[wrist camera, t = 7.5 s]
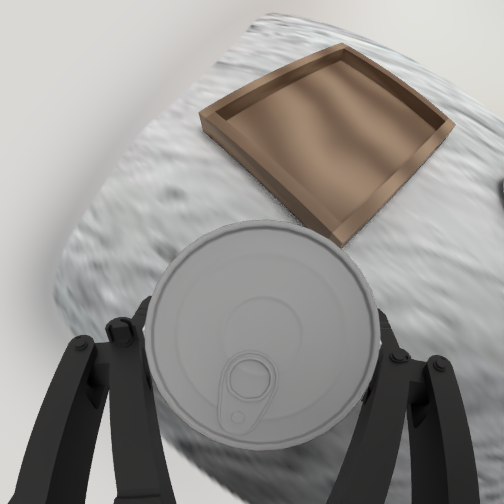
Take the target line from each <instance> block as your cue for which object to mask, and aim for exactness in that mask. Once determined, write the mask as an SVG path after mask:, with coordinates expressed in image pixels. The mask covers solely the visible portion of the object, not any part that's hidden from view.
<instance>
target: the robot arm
mask: <svg viewBox="0 0 504 504" xmlns="http://www.w3.org/2000/svg"><path fill="white" fill-rule="evenodd" d="M151 297H152V296H149V297H147V298H146V299H145V300H143V301H142V303H141V304H140V306H139V308H138V309H137V311H136V313H135V315H134V316H133V318H132V319H130V318H127V317H119V318H115V319H113V320H111V321H110V322H109V323H108V324H107V325H106V328H105V330H106V333H107V336H108V339H109V341H110V342H105V343H94V340H93V338H92V337H90V336H88V335H80V336H77V337H75V338H73V339H72V340H71V341H70V343H69V344H68V346H67V348H66V350H65V352H64V354H63V356H62V359H61V361H60V363H59V365H58V368H57V370H56V372H55V374H54V377H53V379H52V381H51V383H50V386H49V388H48V391H47V393H46V396H45V398H44V400H43V403H42V406H41V408H40V411H39V414H38V416H37V419H36V422H35V424H34V427H33V430H32V433H31V436H30V439H29V442H28V445H27V448H26V452H25V455H24V458H23V462H22V465H21V469H20V473H19V476H18V481H17V484H16V489H15V493H14V495H13V497H12V498H11V500H10V501H9V503H8V504H85V499H86V492H87V486H88V480H89V474H90V469H91V463H92V458H93V454H94V449H95V444H96V440H97V435H98V431H99V427H100V423H101V418H102V414H103V410H104V406H105V403H106V399H107V395H108V392H109V400H110V426H111V440H112V453H113V462H114V471H115V479H116V486H117V497H116V498H115V499H114V504H176V500H175V497H174V493H173V489H172V485H171V481H170V478H169V473H168V469H167V465H166V460H165V456H164V451H163V446H162V441H161V436H160V430H159V425H158V419H157V413H156V407H155V401H154V394H153V387H152V380H151V376H150V369H149V365H148V360H147V356H146V351H145V322H146V317H147V311H148V306H149V302H150V300H151ZM377 309H378V314H379V323H380V333H381V336H380V347H379V356H378V360H377V363H376V367H375V370H374V373H373V376H372V379H371V381H370V383H369V386H368V388H367V390H366V392H365V394H364V396H363V398H362V400H361V401H363V404H362V408H361V411H360V414H359V418H358V421H357V424H356V427H355V430H354V433H353V436H352V439H351V442H350V445H349V448H348V451H347V454H346V456H345V459H344V462H343V464H342V467H341V470H340V472H339V475H338V477H337V480H336V482H335V484H334V487H333V489H332V492H331V494H330V496H329V498H328V501H327V503H326V504H384V502H385V499H386V496H387V492H388V489H389V485H390V482H391V478H392V474H393V470H394V467H395V462H396V458H397V454H398V449H399V445H400V440H401V435H402V429H403V424H404V418H405V412H406V411H407V420H408V430H409V442H410V456H411V481H412V504H480V498H479V487H478V478H477V471H476V464H475V457H474V451H473V446H472V441H471V436H470V431H469V426H468V422H467V417H466V413H465V409H464V405H463V401H462V398H461V394H460V390H459V387H458V384H457V380H456V377H455V374H454V370H453V367H452V365H451V363H450V361H449V360H448V359H446V358H445V357H443V356H439V355H434V356H431V357H430V358H429V359H428V361H427V362H423V361H418V360H413V359H411V356H410V355H409V353H408V352H406V351H405V350H404V349H401V348H399V345H398V343H397V340H396V338H395V336H394V333H393V331H392V329H391V326H390V324H389V323H388V320H387V317H386V315H385V314H384V313H383V312H382V311H381V310H380V309H379V308H377Z"/></svg>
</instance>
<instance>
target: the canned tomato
mask: <svg viewBox="0 0 504 504" xmlns="http://www.w3.org/2000/svg"><path fill="white" fill-rule="evenodd" d="M380 336H381V333H380V323H379V314H378V309H377V306H376V303H375V299H374V296H373V293H372V290H371V288H370V286H369V285H368V283H367V281H366V279H365V277H364V275H363V274H362V272H361V270H360V269H359V268H358V267H357V265H356V264H355V263H354V262H353V261H352V259H351V258H350V257H349V256H348V255H347V254H346V253H345V252H344V251H343V250H342V249H340V248H339V247H338V246H337V245H336V244H334V243H333V242H332V241H331V240H329V239H327V238H326V237H324V236H322V235H320V234H318V233H316V232H315V231H313V230H311V229H308V228H305V227H302V226H299V225H296V224H293V223H289V222H282V221H274V220H252V221H243V222H239V223H235V224H231V225H226V226H223V227H221V228H218V229H216V230H214V231H212V232H210V233H208V234H205V235H203V236H202V237H200V238H199V239H197V240H196V241H195V242H193V243H192V244H190V245H189V246H188V247H186V248H185V249H184V250H183V251H182V252H181V253H180V254H179V255H178V256H177V257H176V258H175V259H174V260H173V261H172V262H171V263H170V264H169V266H168V267H167V269H166V270H165V272H164V274H163V275H162V277H161V278H160V280H159V281H158V283H157V285H156V287H155V290H154V292H153V295H152V297H151V300H150V302H149V306H148V311H147V317H146V322H145V351H146V356H147V360H148V365H149V369H150V372H151V375H152V377H153V379H154V382H155V384H156V386H157V388H158V390H159V392H160V394H161V395H162V397H163V398H164V400H165V401H166V402H167V404H168V405H169V407H170V408H171V409H172V411H173V412H174V413H175V414H176V415H177V416H178V417H180V418H181V419H182V420H183V421H184V422H185V423H186V424H187V425H188V426H189V427H191V428H192V429H194V430H195V431H197V432H199V433H200V434H202V435H204V436H205V437H207V438H209V439H211V440H213V441H216V442H219V443H221V444H224V445H227V446H230V447H233V448H239V449H246V450H254V451H266V450H280V449H285V448H289V447H293V446H296V445H300V444H303V443H306V442H308V441H310V440H312V439H314V438H316V437H318V436H320V435H322V434H324V433H326V432H328V431H329V430H330V429H331V428H333V427H334V426H335V425H337V424H338V423H339V422H340V421H342V420H343V419H344V418H345V417H346V416H347V415H348V414H349V413H350V411H351V410H352V409H353V408H354V407H355V405H356V404H357V403H358V402H359V401H360V399H361V398H362V396H363V394H364V392H365V390H366V389H367V387H368V385H369V383H370V381H371V379H372V376H373V373H374V370H375V367H376V363H377V360H378V356H379V347H380Z"/></svg>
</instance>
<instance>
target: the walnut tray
mask: <svg viewBox="0 0 504 504" xmlns="http://www.w3.org/2000/svg"><path fill="white" fill-rule="evenodd" d="M199 116H200V120H201V124H202V128H203V131H204V132H205V133H206V134H208V135H209V136H210V137H211V138H212V139H213V140H214V141H215V142H217V143H218V144H219V145H220V146H221V147H222V148H223V149H224V150H226V151H227V152H228V153H229V154H230V155H231V156H232V157H233V158H234V159H236V160H237V161H238V162H239V163H240V164H241V165H242V166H243V167H244V168H245V169H246V170H248V171H249V172H250V173H251V174H252V175H253V176H254V177H255V178H256V179H257V180H258V181H259V182H260V183H261V184H263V185H264V186H265V187H266V188H267V189H268V190H269V191H270V192H271V193H272V194H273V195H274V196H275V197H276V198H277V199H278V200H279V201H280V202H281V203H282V204H283V205H284V206H286V207H287V208H288V209H289V210H290V211H291V212H292V213H293V214H294V215H295V216H296V217H297V218H298V219H299V220H300V221H301V222H302V223H303V224H304V225H305V226H306V227H307V228H308V229H311V230H313V231H315V232H316V233H318V234H320V235H322V236H324V237H326V238H327V239H329V240H331V241H332V242H333V243H334V244H336V245H337V246H338V247H339V248H340V249H341V248H342V247H343V246H344V245H345V244H346V243H347V242H348V241H349V240H350V239H351V238H352V237H353V236H354V235H355V234H356V233H357V232H359V231H360V230H361V229H362V228H363V227H364V226H365V225H366V224H367V223H368V222H369V221H370V220H371V218H372V217H373V216H374V215H375V214H376V213H377V212H378V211H379V210H380V209H381V208H382V207H383V206H384V205H385V204H386V203H387V202H388V201H389V200H390V199H391V198H392V197H393V196H394V195H395V194H396V193H397V192H398V191H399V190H400V188H401V187H402V186H403V185H404V184H405V183H406V182H407V181H408V180H409V179H410V178H411V177H412V176H413V175H414V173H415V172H416V171H417V170H418V169H419V168H420V167H421V166H422V165H423V164H424V163H425V161H426V160H427V159H428V158H429V157H430V156H431V155H432V154H433V152H434V151H435V150H436V149H437V148H438V147H439V146H440V145H441V143H442V142H443V141H444V140H445V139H446V138H447V136H448V135H449V133H450V132H451V131H452V129H453V128H454V126H455V125H456V124H455V123H454V122H453V121H451V120H450V119H449V118H448V117H447V116H446V115H445V114H444V113H442V112H441V111H440V110H439V109H438V108H437V107H435V106H434V105H433V104H432V103H431V102H429V101H428V100H427V99H426V98H424V97H423V96H422V95H421V94H419V93H418V92H417V91H415V90H414V89H413V88H411V87H410V86H409V85H407V84H406V83H405V82H403V81H402V80H401V79H399V78H398V77H396V76H395V75H393V74H392V73H391V72H389V71H388V70H386V69H385V68H383V67H382V66H380V65H379V64H377V63H375V62H374V61H372V60H371V59H369V58H367V57H366V56H364V55H363V54H361V53H359V52H357V51H356V50H354V49H352V48H351V47H349V46H347V45H345V44H343V43H340V44H337V45H334V46H331V47H329V48H326V49H324V50H321V51H319V52H316V53H314V54H311V55H309V56H306V57H304V58H302V59H299V60H297V61H295V62H293V63H290V64H288V65H286V66H284V67H282V68H279V69H277V70H275V71H273V72H271V73H269V74H267V75H265V76H263V77H261V78H259V79H257V80H255V81H253V82H251V83H249V84H247V85H245V86H243V87H242V88H240V89H238V90H236V91H234V92H232V93H231V94H229V95H227V96H225V97H223V98H222V99H220V100H218V101H217V102H215V103H213V104H211V105H210V106H208V107H206V108H205V109H203V110H201V111H200V112H199Z"/></svg>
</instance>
